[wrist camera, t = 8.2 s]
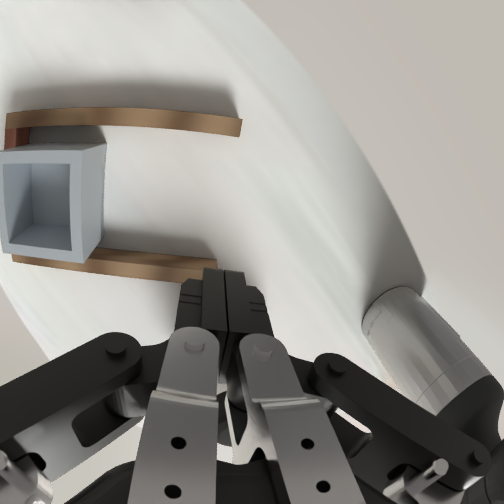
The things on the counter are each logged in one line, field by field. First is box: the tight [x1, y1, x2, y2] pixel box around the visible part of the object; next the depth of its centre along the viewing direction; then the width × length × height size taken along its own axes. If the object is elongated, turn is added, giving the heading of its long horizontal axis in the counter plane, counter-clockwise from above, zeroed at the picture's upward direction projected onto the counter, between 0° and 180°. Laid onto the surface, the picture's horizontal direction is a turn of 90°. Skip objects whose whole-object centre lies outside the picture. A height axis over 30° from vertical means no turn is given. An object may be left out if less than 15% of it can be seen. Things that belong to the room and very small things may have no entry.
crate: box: [0, 143, 107, 264], centre depth 21 cm, size 9×9×6 cm
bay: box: [4, 107, 243, 283], centre depth 23 cm, size 22×15×2 cm
